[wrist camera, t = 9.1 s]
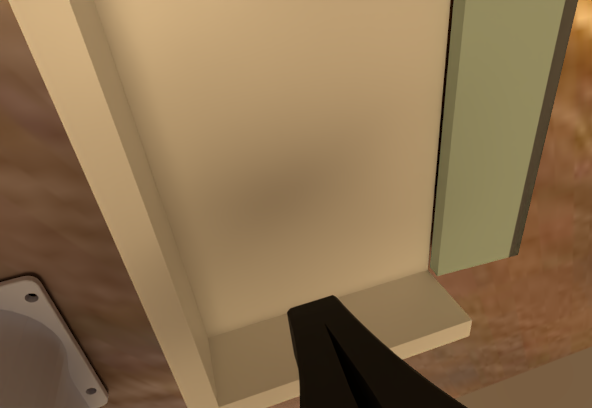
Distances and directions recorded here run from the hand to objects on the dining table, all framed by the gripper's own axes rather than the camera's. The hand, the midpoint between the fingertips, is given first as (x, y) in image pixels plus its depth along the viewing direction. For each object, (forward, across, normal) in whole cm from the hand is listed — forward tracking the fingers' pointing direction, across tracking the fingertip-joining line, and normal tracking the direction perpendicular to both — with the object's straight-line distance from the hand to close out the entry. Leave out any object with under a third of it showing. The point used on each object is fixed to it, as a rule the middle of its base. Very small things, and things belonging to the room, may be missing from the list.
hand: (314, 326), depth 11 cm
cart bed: (+9, -2, -2) cm, 10 cm away
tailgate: (+8, -9, -2) cm, 12 cm away
